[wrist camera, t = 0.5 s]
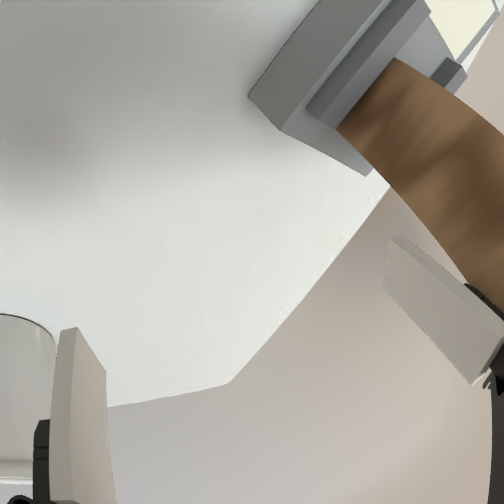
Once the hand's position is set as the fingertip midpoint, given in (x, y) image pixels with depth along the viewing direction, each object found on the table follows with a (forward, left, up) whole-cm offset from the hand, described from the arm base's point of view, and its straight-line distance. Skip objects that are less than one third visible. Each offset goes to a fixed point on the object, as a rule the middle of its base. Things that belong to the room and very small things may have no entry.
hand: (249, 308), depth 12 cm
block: (-2, +13, -9) cm, 16 cm away
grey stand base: (-6, +15, -14) cm, 22 cm away
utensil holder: (+20, -27, -15) cm, 36 cm away
